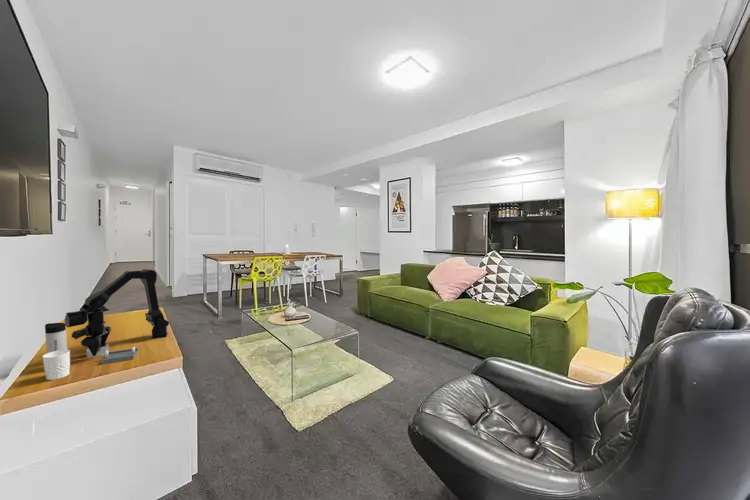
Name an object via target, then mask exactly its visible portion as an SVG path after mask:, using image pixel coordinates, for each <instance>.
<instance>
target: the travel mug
mask: <svg viewBox="0 0 750 500" xmlns="http://www.w3.org/2000/svg"><path fill="white" fill-rule="evenodd" d="M44 330H45V332H44V333H45V346H46V354H47V353H50V352H53V351H58V350H68V340H67V338H68V337H67V327H66V325H65V322H53V323H52V322H50V323H49V322H48V323H46V324H44Z"/></svg>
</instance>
